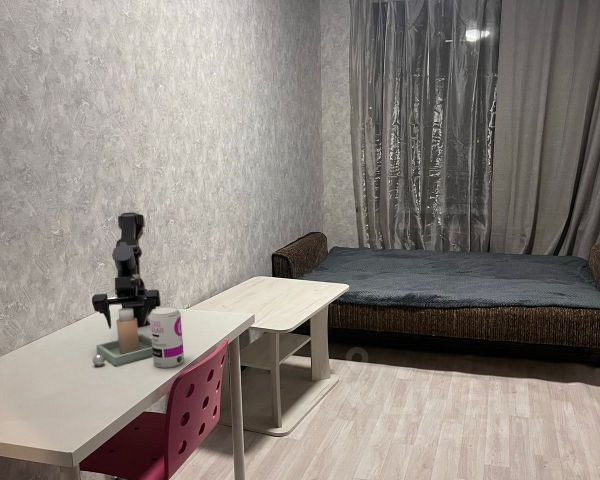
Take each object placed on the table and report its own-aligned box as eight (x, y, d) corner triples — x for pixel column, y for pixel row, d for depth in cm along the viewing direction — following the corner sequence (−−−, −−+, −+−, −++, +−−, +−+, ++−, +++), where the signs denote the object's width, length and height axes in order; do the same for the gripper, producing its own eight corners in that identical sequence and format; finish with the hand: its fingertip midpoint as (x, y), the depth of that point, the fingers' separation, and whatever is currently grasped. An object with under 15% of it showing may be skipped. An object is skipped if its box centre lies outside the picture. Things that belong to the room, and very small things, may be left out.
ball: (102, 362, 169) (101, 351, 169) (107, 365, 167) (106, 354, 166) (91, 365, 167) (90, 354, 167) (95, 368, 165) (94, 357, 164)
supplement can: (187, 357, 170) (183, 305, 168) (179, 368, 162) (174, 314, 159) (159, 357, 171) (155, 306, 168) (149, 368, 163) (144, 314, 160)
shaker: (127, 347, 179) (123, 306, 177) (143, 349, 177) (139, 307, 175) (115, 354, 174) (111, 311, 171) (132, 355, 172) (128, 313, 169)
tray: (142, 342, 185) (142, 334, 184) (163, 353, 174) (162, 345, 174) (97, 353, 176) (96, 345, 176) (115, 366, 166) (114, 357, 165)
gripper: (89, 267, 173) (86, 315, 164) (156, 262, 176) (157, 309, 167) (96, 287, 182) (94, 334, 173) (160, 282, 185) (161, 328, 176)
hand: (126, 326), depth 172 cm, fingers open, 9 cm apart
